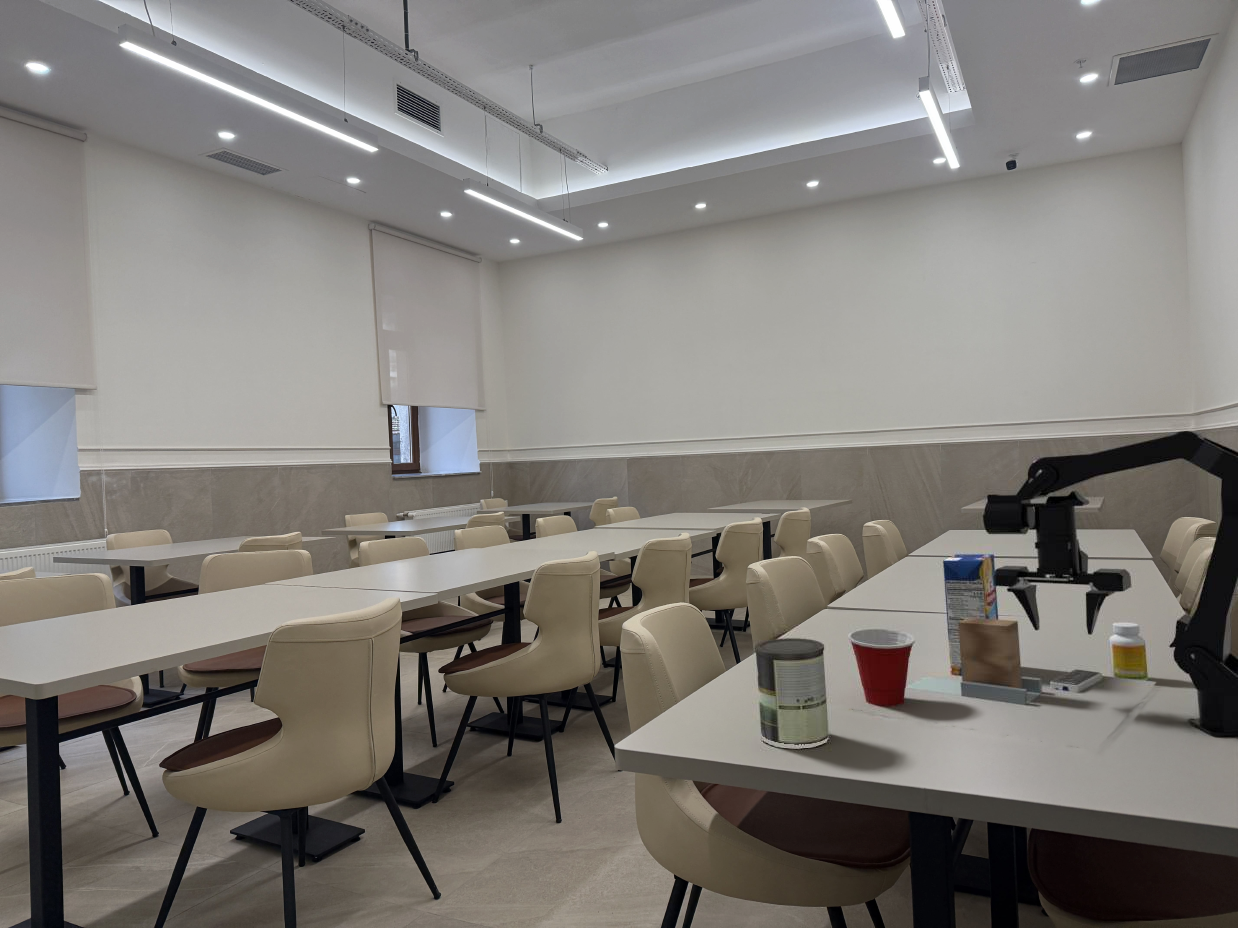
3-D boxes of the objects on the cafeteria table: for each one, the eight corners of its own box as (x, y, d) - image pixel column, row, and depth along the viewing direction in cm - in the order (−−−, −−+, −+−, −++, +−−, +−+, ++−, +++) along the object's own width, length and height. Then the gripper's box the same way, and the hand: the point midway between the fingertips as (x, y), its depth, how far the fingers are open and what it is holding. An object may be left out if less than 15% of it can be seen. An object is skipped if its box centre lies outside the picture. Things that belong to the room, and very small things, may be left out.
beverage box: (951, 678, 148) (942, 560, 148) (964, 665, 157) (956, 554, 157) (991, 682, 144) (982, 560, 144) (1001, 668, 153) (993, 554, 153)
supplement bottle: (1153, 683, 137) (1149, 626, 137) (1119, 683, 138) (1115, 627, 139) (1140, 675, 143) (1136, 621, 143) (1107, 675, 144) (1103, 621, 144)
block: (1022, 692, 134) (1017, 620, 134) (1012, 699, 130) (1007, 626, 130) (973, 685, 139) (969, 617, 139) (963, 692, 136) (958, 622, 136)
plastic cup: (876, 719, 127) (871, 643, 127) (840, 702, 137) (835, 632, 137) (934, 709, 130) (929, 636, 130) (894, 693, 140) (890, 625, 140)
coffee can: (748, 742, 119) (742, 648, 120) (780, 723, 127) (775, 635, 128) (811, 754, 113) (804, 655, 113) (841, 733, 121) (835, 641, 121)
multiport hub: (1103, 685, 139) (1102, 672, 139) (1078, 699, 132) (1077, 685, 132) (1076, 681, 142) (1075, 668, 142) (1050, 695, 135) (1049, 681, 135)
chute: (1042, 696, 133) (1041, 678, 133) (1025, 709, 127) (1024, 690, 127) (925, 680, 147) (924, 664, 147) (904, 692, 141) (903, 675, 141)
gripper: (1135, 530, 127) (1143, 628, 126) (1011, 530, 140) (1018, 619, 139) (1118, 536, 119) (1126, 641, 118) (988, 536, 132) (995, 630, 131)
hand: (1063, 631), depth 127 cm, fingers open, 7 cm apart
